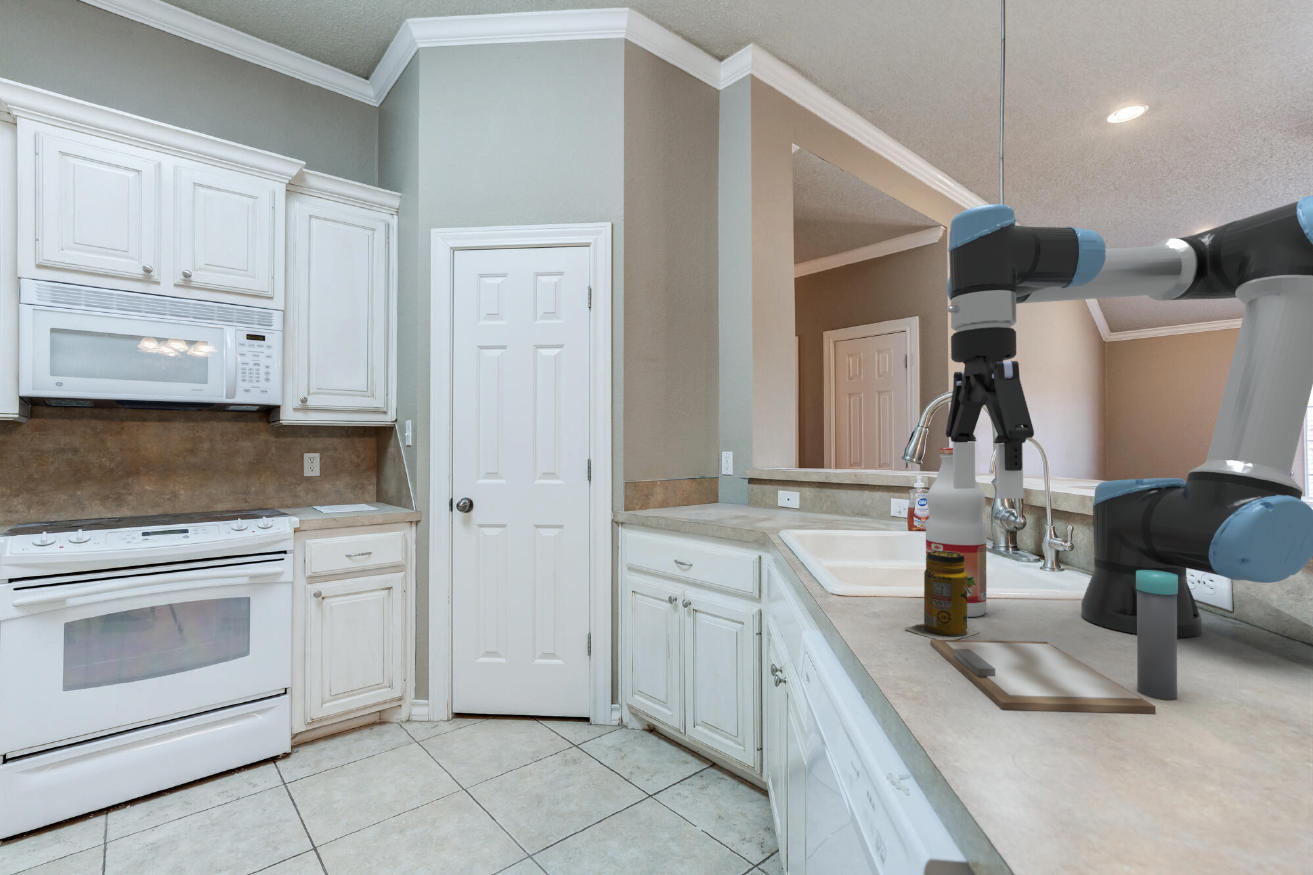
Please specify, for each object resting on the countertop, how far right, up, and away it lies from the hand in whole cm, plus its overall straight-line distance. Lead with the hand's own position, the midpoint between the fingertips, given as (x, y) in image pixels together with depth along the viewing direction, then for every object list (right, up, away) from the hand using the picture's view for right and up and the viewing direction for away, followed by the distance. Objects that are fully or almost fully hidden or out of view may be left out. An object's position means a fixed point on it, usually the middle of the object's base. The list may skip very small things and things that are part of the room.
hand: (985, 493), depth 80 cm
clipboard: (+4, -23, -3) cm, 23 cm away
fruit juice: (+9, -23, +26) cm, 36 cm away
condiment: (+1, -23, +14) cm, 27 cm away
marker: (+15, -23, -9) cm, 29 cm away
